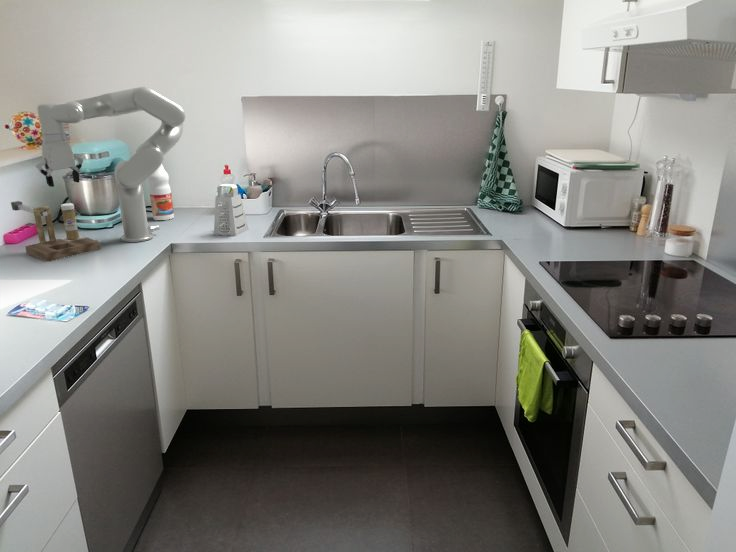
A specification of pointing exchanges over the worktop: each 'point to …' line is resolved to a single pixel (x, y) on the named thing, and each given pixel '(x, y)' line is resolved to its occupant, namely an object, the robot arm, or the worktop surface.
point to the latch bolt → (25, 208)
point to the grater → (229, 212)
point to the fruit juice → (160, 195)
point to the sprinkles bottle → (70, 221)
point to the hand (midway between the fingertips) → (64, 184)
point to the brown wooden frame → (57, 241)
